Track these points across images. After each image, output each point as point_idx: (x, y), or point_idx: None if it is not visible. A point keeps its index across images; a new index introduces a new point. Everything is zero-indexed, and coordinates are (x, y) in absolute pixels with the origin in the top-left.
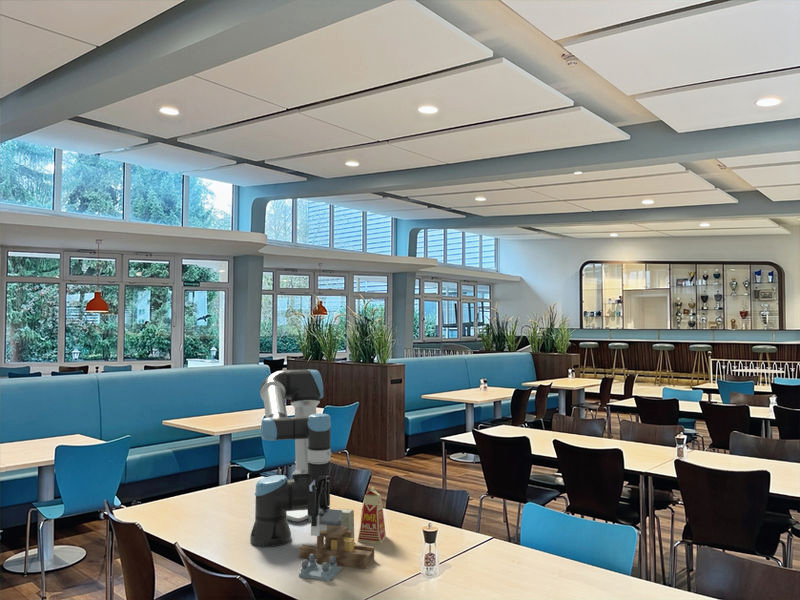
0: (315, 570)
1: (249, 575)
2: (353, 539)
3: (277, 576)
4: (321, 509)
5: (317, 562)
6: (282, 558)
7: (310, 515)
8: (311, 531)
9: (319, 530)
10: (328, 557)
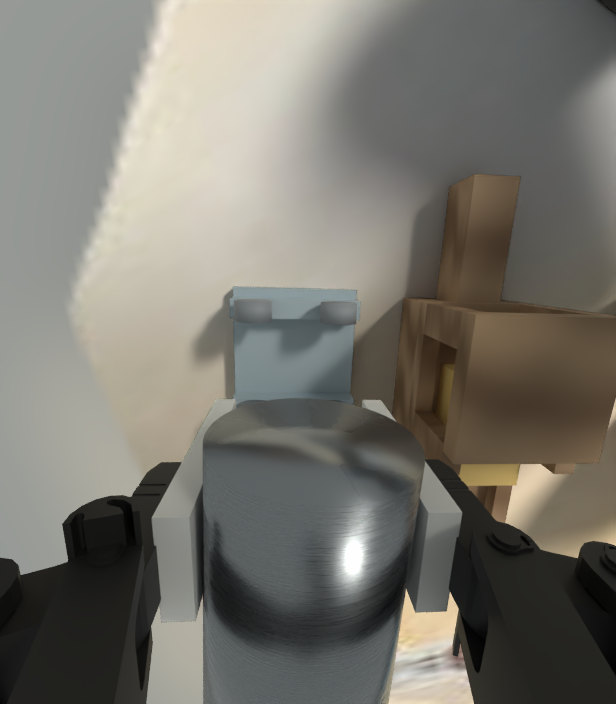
0: (287, 343)
1: (170, 28)
2: (504, 482)
3: (208, 186)
4: (281, 679)
5: (403, 300)
6: (419, 104)
7: (37, 573)
8: (209, 417)
9: None
10: (407, 358)
